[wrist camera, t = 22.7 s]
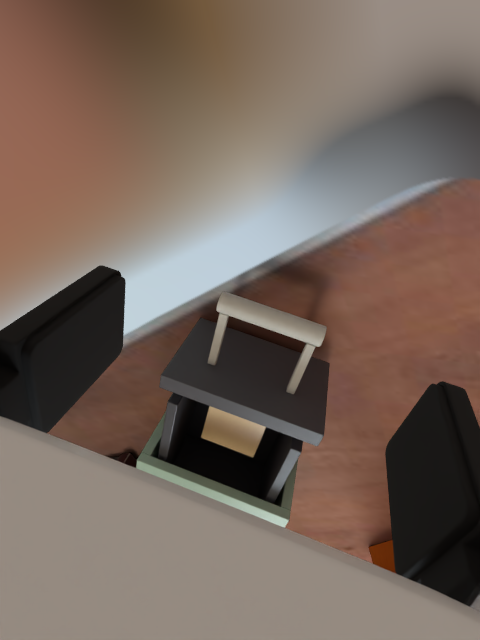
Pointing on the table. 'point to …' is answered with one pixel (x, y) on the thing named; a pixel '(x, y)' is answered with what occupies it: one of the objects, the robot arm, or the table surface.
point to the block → (232, 431)
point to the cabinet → (216, 484)
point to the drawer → (245, 396)
